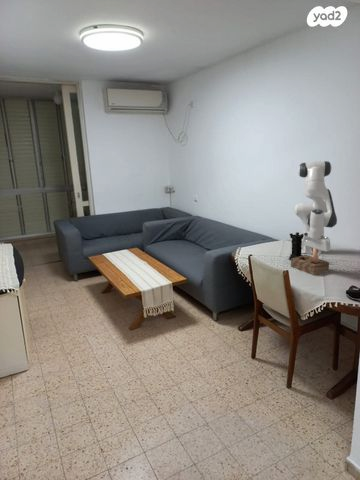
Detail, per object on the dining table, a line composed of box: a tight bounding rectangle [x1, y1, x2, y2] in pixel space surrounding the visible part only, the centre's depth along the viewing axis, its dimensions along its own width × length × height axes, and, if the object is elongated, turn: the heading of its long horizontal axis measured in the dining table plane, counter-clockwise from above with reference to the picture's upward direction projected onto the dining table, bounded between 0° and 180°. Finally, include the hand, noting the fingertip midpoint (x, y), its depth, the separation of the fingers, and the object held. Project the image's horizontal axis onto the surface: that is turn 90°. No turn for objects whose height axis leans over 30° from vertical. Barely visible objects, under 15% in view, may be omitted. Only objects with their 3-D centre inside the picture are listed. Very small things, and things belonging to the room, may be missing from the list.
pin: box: [312, 248, 319, 263], centre depth 219 cm, size 4×4×10 cm
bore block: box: [290, 254, 330, 276], centre depth 226 cm, size 20×14×6 cm
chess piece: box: [287, 231, 304, 261], centre depth 242 cm, size 8×8×20 cm
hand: (315, 254), depth 219 cm, fingers closed on pin, 3 cm apart
